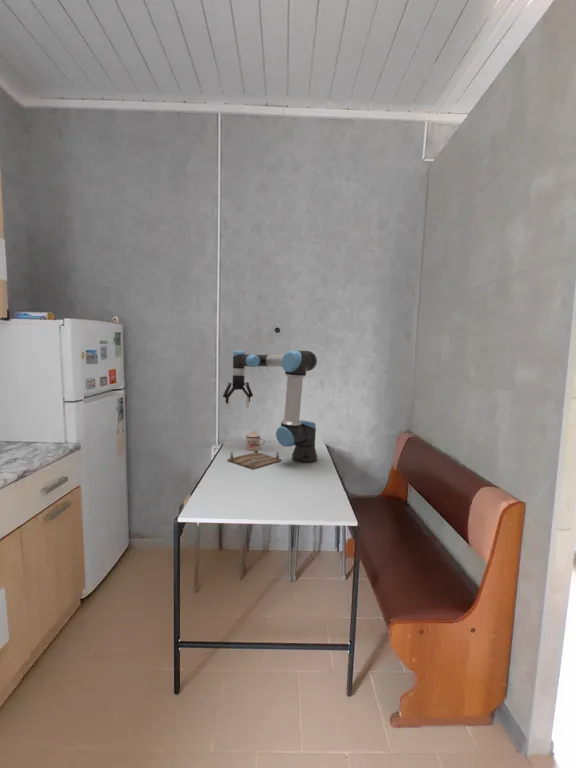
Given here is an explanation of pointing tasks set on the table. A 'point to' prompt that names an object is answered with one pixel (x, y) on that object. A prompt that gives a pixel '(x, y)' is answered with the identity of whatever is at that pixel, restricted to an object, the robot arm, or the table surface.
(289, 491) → the table surface
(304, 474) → the table surface
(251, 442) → the teacup with lid
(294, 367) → the robot arm
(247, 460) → the stub plate
